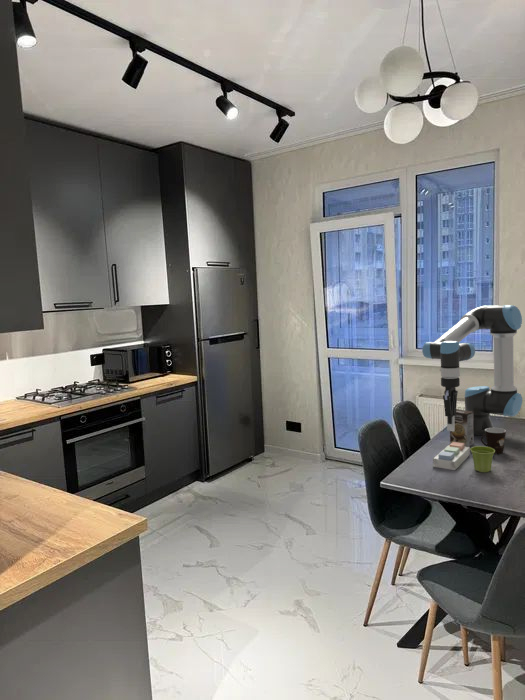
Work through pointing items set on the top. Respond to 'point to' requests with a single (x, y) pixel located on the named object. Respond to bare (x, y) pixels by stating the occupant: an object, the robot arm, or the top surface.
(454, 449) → the sage button
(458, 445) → the terracotta button
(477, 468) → the plant pot
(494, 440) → the coffee mug
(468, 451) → the button panel
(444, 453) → the slate button
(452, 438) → the coffee box
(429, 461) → the top surface
